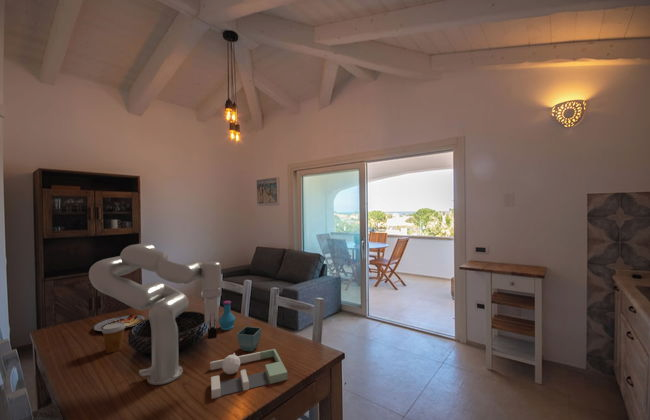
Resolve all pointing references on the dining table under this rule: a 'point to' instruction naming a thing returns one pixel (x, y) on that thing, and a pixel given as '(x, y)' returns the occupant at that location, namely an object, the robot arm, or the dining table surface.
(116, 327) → the disposable coffee cup
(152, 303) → the robot arm
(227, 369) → the ornament
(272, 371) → the u-shaped rail frame
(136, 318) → the food plate
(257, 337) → the flower pot
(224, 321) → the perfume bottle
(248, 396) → the dining table surface
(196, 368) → the dining table surface
